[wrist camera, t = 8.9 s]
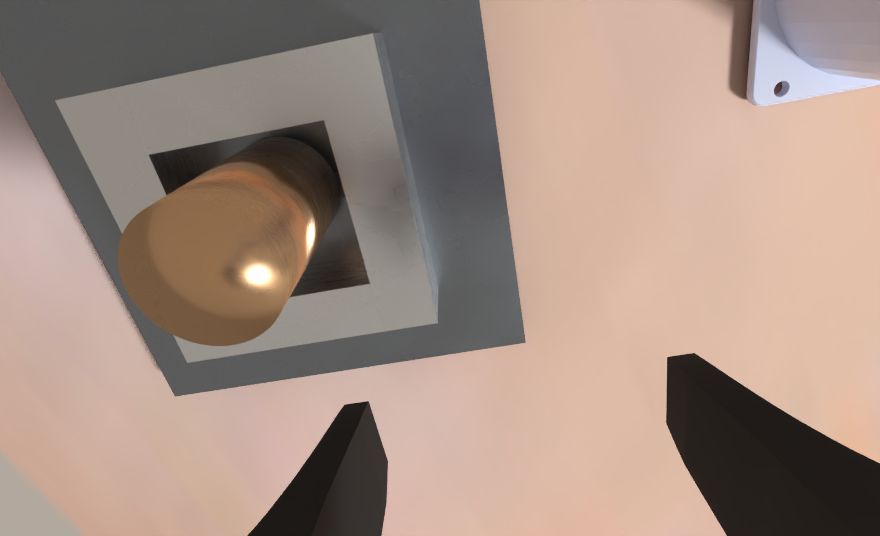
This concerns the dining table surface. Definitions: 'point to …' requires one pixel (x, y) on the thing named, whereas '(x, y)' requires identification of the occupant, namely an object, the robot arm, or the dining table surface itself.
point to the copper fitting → (230, 243)
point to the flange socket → (301, 118)
